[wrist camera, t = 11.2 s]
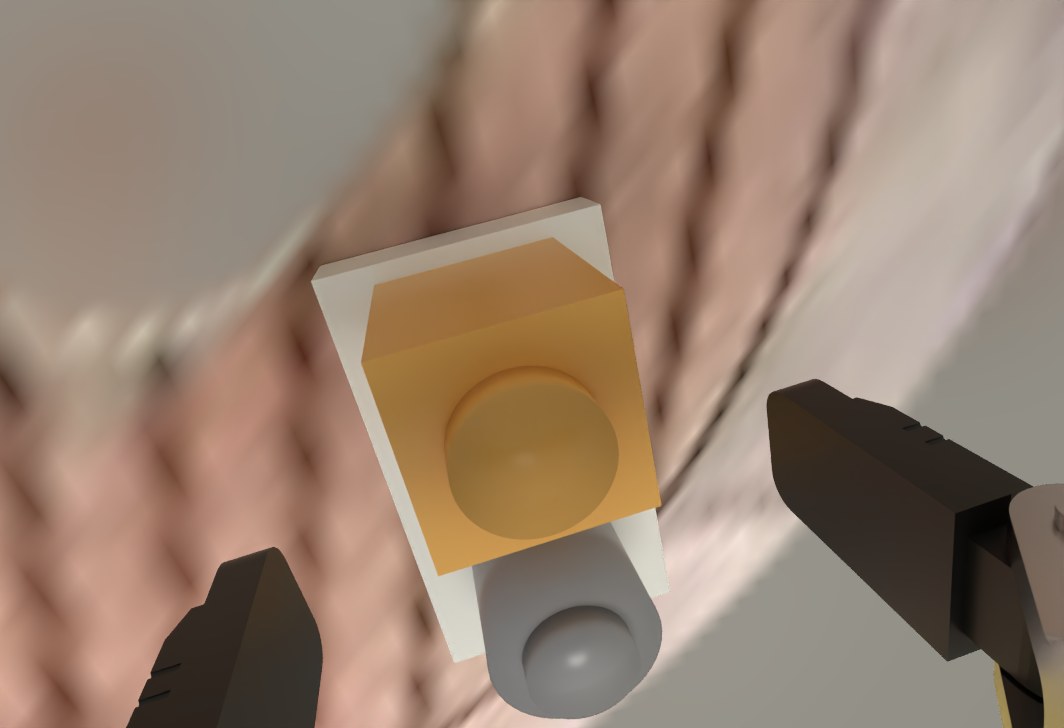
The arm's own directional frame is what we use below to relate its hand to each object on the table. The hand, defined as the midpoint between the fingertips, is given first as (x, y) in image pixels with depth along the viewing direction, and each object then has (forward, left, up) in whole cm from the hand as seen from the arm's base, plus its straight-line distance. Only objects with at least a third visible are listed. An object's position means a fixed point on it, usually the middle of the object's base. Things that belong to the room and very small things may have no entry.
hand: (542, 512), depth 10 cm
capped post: (0, -8, -9) cm, 11 cm away
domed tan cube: (0, 0, -9) cm, 9 cm away
